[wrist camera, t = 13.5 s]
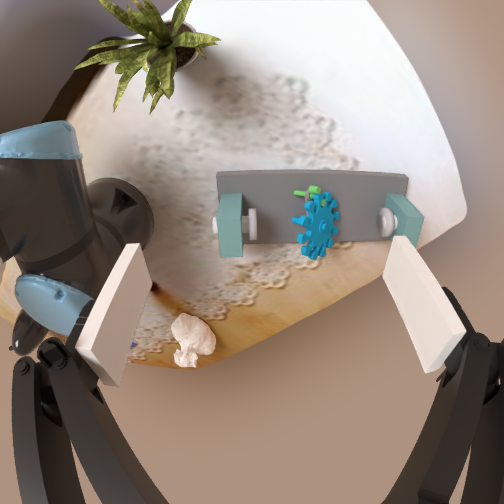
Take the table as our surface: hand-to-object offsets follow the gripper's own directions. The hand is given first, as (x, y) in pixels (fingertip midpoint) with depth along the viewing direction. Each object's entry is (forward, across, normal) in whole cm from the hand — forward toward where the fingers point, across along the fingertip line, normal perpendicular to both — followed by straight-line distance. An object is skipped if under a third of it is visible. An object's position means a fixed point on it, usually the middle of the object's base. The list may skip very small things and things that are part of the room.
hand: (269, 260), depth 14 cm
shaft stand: (+29, +9, -12) cm, 32 cm away
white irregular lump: (+29, -15, -40) cm, 52 cm away
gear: (+27, +8, -12) cm, 31 cm away
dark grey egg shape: (+29, -62, -39) cm, 79 cm away
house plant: (+29, -11, +14) cm, 34 cm away
